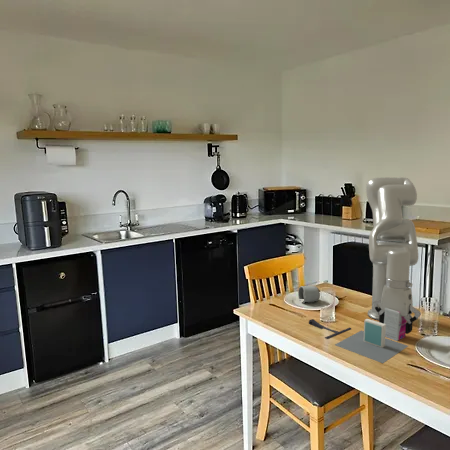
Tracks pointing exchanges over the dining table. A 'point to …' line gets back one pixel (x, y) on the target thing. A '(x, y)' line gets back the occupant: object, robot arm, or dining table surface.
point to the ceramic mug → (309, 293)
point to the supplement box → (394, 325)
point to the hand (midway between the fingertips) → (395, 328)
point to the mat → (371, 347)
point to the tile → (374, 332)
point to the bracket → (316, 324)
